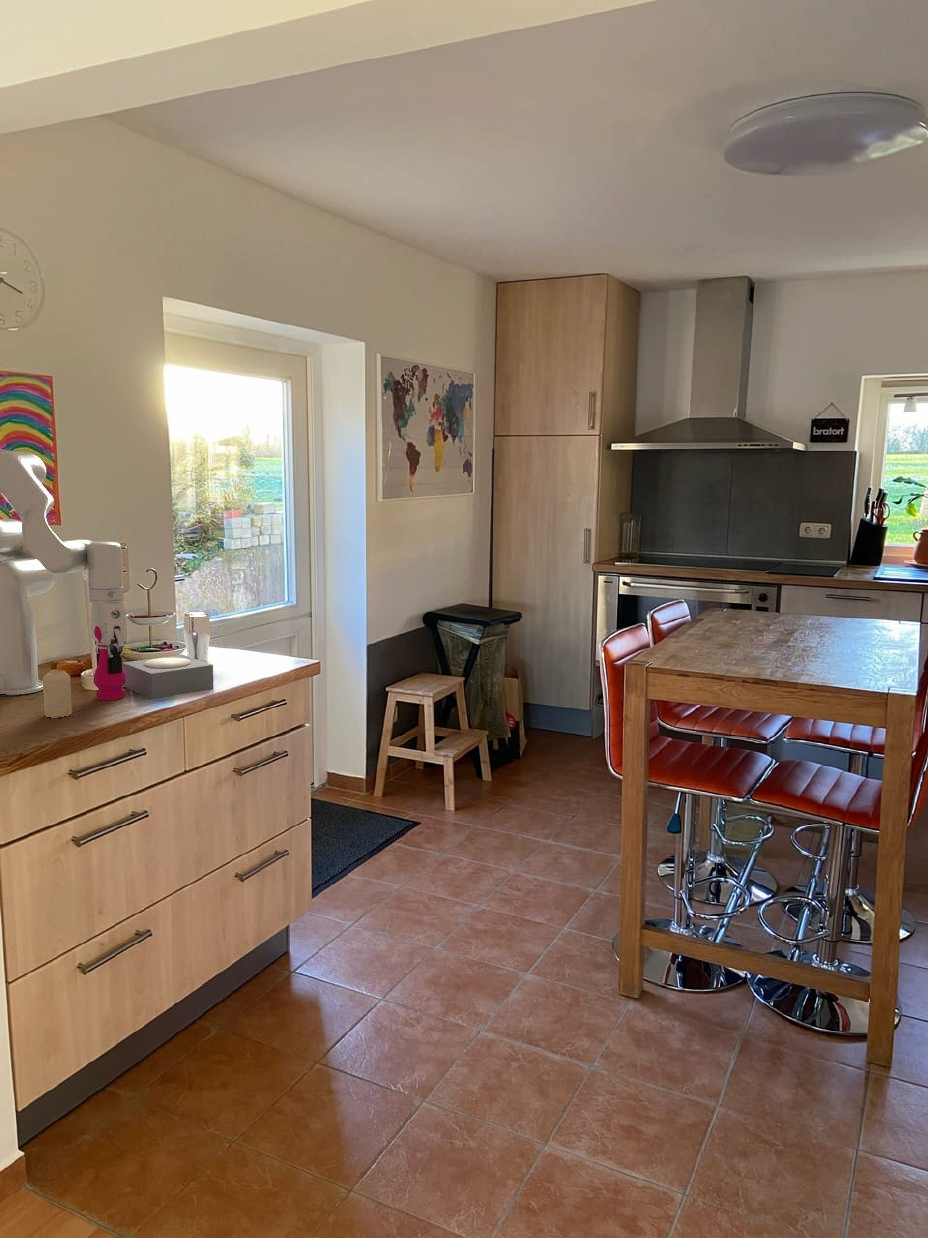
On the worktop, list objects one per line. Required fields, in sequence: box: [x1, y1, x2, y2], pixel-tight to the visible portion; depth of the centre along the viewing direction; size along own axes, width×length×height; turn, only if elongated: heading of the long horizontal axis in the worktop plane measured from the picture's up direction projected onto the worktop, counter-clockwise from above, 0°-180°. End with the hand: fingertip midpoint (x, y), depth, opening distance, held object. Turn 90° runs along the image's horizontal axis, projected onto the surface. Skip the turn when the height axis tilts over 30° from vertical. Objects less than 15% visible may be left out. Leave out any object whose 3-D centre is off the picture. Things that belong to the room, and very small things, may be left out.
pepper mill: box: [93, 626, 126, 702], centre depth 212 cm, size 7×7×20 cm
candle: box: [42, 668, 73, 719], centre depth 196 cm, size 6×6×10 cm
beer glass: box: [183, 612, 211, 663], centre depth 245 cm, size 7×7×15 cm
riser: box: [122, 654, 215, 699], centre depth 224 cm, size 16×16×6 cm
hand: (109, 670), depth 212 cm, fingers closed on pepper mill, 5 cm apart
